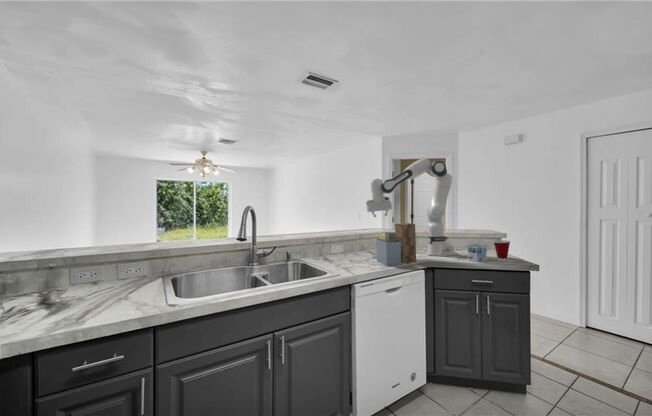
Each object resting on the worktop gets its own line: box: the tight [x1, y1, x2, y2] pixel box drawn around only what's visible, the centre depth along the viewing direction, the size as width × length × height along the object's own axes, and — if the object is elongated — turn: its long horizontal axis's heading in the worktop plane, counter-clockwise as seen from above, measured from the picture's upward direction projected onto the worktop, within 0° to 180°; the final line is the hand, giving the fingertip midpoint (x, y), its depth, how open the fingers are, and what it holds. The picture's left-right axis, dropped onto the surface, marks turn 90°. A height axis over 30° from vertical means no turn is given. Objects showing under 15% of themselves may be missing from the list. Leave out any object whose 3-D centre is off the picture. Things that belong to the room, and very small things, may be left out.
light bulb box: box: [467, 243, 488, 263], centre depth 194 cm, size 11×7×11 cm, turn 117°
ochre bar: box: [378, 231, 396, 242], centre depth 197 cm, size 5×20×6 cm, turn 11°
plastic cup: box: [492, 239, 511, 259], centre depth 200 cm, size 11×11×12 cm
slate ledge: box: [375, 237, 402, 266], centre depth 195 cm, size 10×18×16 cm, turn 11°
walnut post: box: [394, 222, 417, 264], centre depth 198 cm, size 10×10×26 cm
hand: (380, 216), depth 227 cm, fingers open, 8 cm apart
